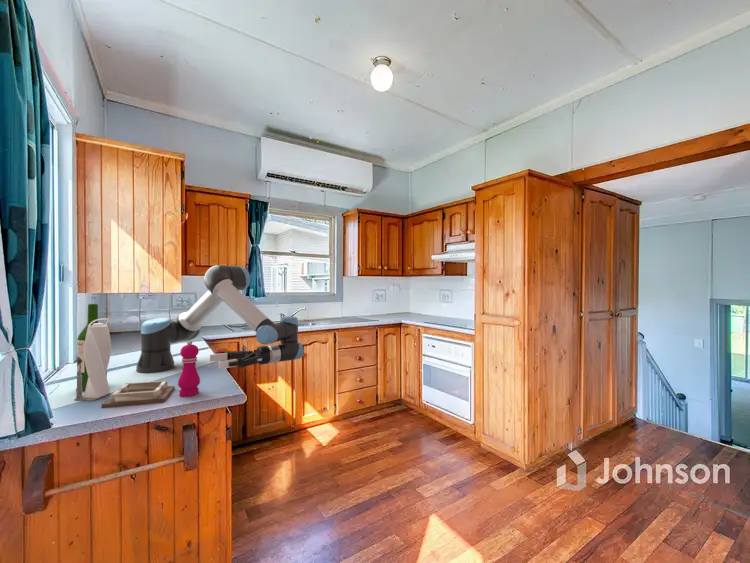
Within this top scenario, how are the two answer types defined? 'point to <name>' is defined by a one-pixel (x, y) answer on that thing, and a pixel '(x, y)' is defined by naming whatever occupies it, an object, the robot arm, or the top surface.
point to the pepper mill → (189, 371)
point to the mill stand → (139, 394)
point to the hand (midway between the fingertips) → (214, 361)
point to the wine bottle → (81, 342)
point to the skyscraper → (95, 362)
